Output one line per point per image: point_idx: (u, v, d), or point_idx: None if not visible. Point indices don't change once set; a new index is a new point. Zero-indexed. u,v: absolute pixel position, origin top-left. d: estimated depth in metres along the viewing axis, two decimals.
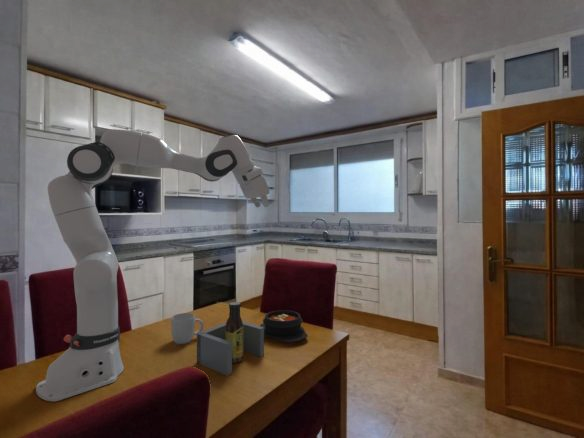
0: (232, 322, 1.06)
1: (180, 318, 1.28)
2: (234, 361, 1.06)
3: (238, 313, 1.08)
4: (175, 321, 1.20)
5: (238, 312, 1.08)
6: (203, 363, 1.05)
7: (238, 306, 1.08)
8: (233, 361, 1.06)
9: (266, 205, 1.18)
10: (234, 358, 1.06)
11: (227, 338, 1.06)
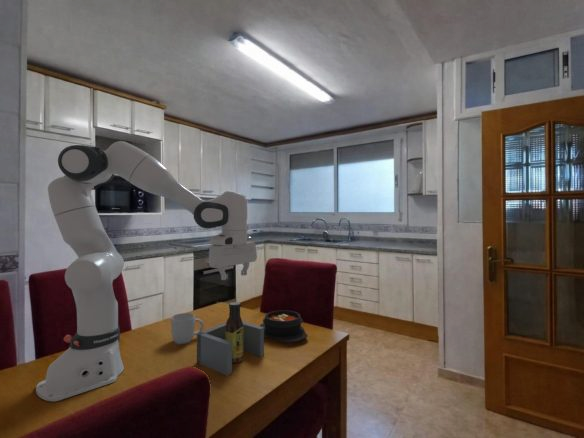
0: (232, 322, 1.06)
1: (179, 318, 1.28)
2: (234, 361, 1.06)
3: (238, 313, 1.08)
4: (175, 321, 1.20)
5: (238, 312, 1.08)
6: (203, 363, 1.05)
7: (238, 306, 1.08)
8: (233, 361, 1.06)
9: (222, 278, 1.04)
10: (234, 358, 1.06)
11: (227, 338, 1.06)
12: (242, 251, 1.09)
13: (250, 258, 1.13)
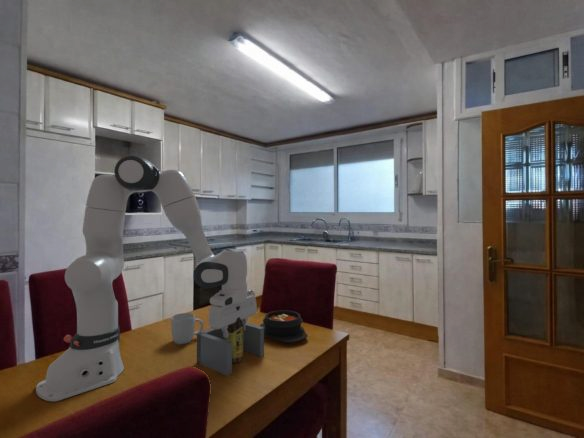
0: None
1: (179, 318, 1.28)
2: (234, 361, 1.06)
3: None
4: (175, 321, 1.20)
5: None
6: (203, 363, 1.05)
7: (238, 306, 1.08)
8: (233, 361, 1.06)
9: (224, 336, 1.05)
10: (234, 358, 1.06)
11: (227, 338, 1.06)
12: (242, 307, 1.10)
13: (250, 313, 1.13)
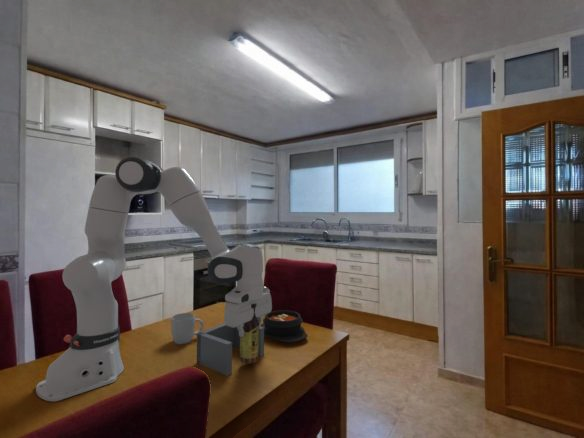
0: None
1: (180, 318, 1.28)
2: (249, 361, 1.02)
3: (254, 312, 1.04)
4: (175, 321, 1.20)
5: (254, 311, 1.04)
6: (203, 363, 1.05)
7: (254, 305, 1.03)
8: (248, 361, 1.02)
9: (239, 334, 1.01)
10: (249, 358, 1.02)
11: (242, 337, 1.02)
12: (258, 304, 1.06)
13: (266, 310, 1.09)
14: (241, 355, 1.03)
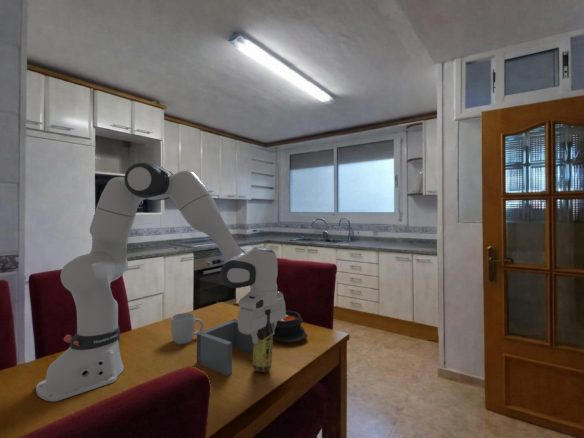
0: (261, 328, 0.98)
1: (179, 318, 1.28)
2: (263, 370, 0.98)
3: (268, 318, 1.00)
4: (175, 321, 1.20)
5: (268, 317, 1.00)
6: (203, 363, 1.05)
7: (268, 311, 1.00)
8: (262, 370, 0.98)
9: (253, 341, 0.97)
10: (263, 367, 0.98)
11: (256, 345, 0.99)
12: (271, 310, 1.02)
13: (279, 316, 1.05)
14: (254, 363, 0.99)
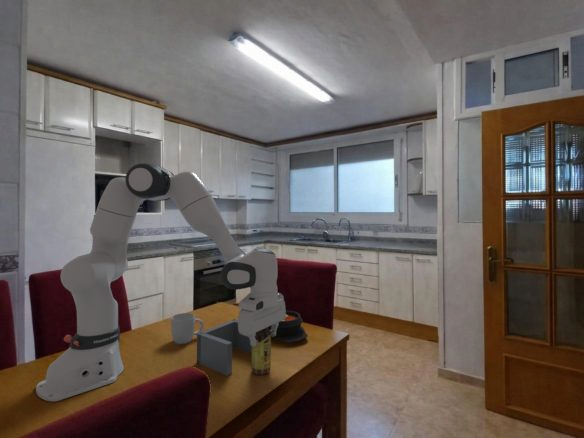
0: None
1: (180, 318, 1.28)
2: (262, 372, 0.98)
3: None
4: (175, 321, 1.20)
5: None
6: (203, 363, 1.05)
7: None
8: (261, 372, 0.98)
9: (251, 344, 0.97)
10: (262, 369, 0.98)
11: (254, 348, 0.99)
12: (272, 312, 1.02)
13: (280, 317, 1.05)
14: (253, 366, 0.99)
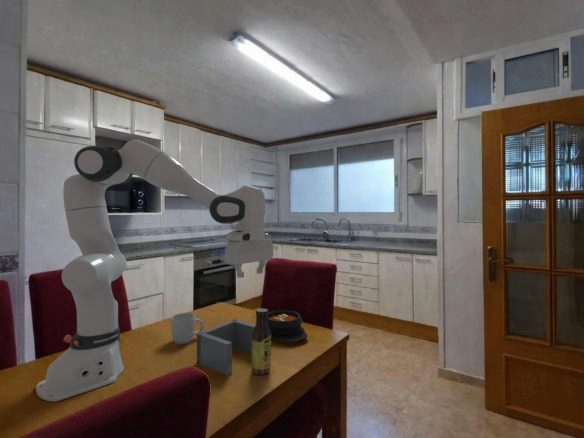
0: (259, 330, 0.99)
1: (179, 318, 1.28)
2: (262, 372, 0.98)
3: (266, 321, 1.00)
4: (175, 321, 1.20)
5: (266, 319, 1.01)
6: (203, 363, 1.05)
7: (266, 313, 1.00)
8: (261, 372, 0.98)
9: (238, 275, 1.00)
10: (262, 369, 0.98)
11: (254, 348, 0.99)
12: (259, 248, 1.05)
13: (267, 256, 1.08)
14: (253, 366, 0.99)
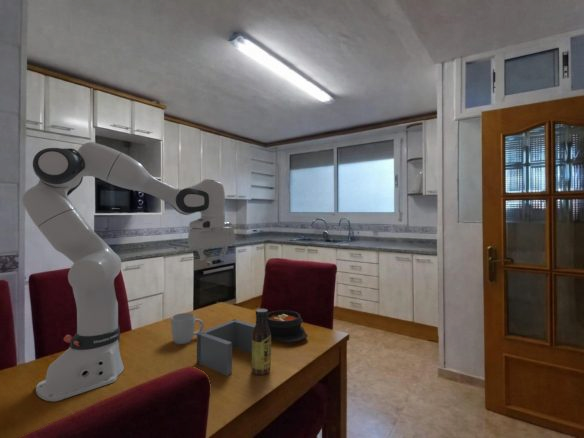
0: (259, 330, 0.99)
1: (179, 318, 1.28)
2: (262, 373, 0.98)
3: (265, 321, 1.00)
4: (175, 321, 1.20)
5: (265, 320, 1.00)
6: (203, 363, 1.05)
7: (266, 313, 1.00)
8: (261, 373, 0.98)
9: (200, 259, 1.13)
10: (262, 369, 0.98)
11: (254, 348, 0.99)
12: (220, 235, 1.18)
13: (228, 242, 1.22)
14: (253, 366, 0.99)
